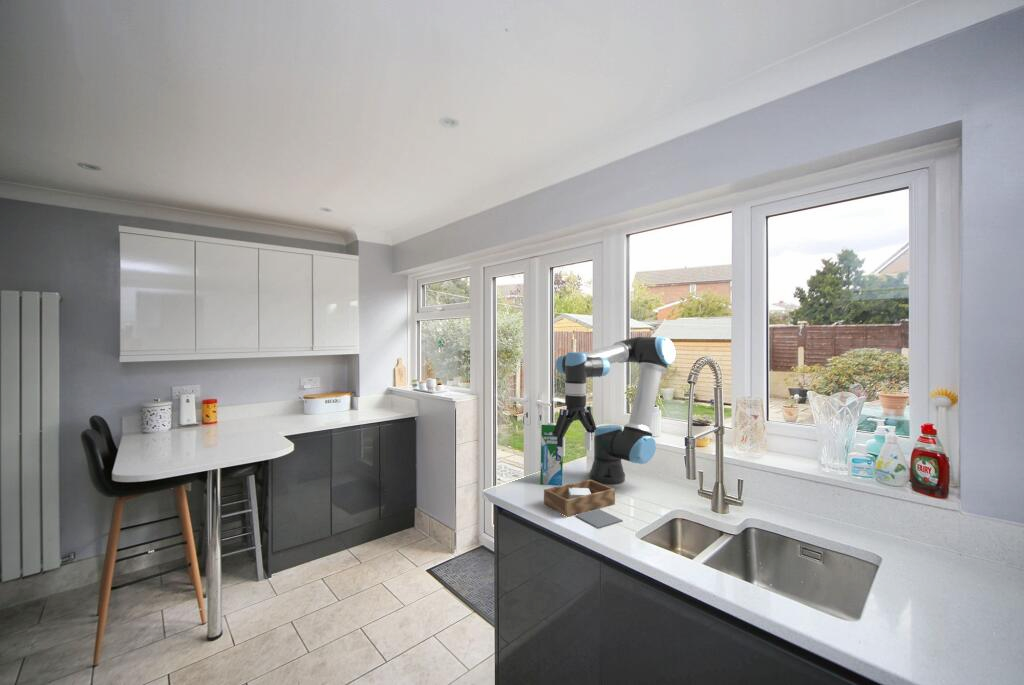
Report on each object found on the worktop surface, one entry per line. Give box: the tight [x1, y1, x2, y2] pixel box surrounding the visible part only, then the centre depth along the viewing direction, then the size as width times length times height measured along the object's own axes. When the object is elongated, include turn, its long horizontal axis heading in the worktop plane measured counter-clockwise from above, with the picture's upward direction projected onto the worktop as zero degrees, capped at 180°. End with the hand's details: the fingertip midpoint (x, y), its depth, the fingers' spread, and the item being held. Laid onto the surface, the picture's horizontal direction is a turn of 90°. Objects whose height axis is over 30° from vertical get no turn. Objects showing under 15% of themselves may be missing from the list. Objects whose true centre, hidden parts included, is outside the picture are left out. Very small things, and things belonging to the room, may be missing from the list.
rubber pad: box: [575, 508, 623, 529], centre depth 144 cm, size 11×11×1 cm
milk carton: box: [539, 422, 564, 486], centre depth 182 cm, size 9×9×25 cm
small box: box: [568, 488, 591, 499], centre depth 156 cm, size 8×8×5 cm
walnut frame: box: [543, 478, 616, 518], centre depth 157 cm, size 23×13×6 cm, turn 123°
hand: (575, 452), depth 156 cm, fingers open, 13 cm apart
